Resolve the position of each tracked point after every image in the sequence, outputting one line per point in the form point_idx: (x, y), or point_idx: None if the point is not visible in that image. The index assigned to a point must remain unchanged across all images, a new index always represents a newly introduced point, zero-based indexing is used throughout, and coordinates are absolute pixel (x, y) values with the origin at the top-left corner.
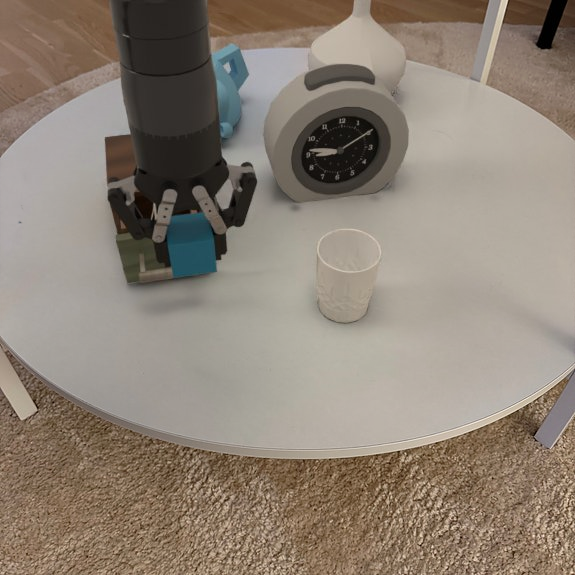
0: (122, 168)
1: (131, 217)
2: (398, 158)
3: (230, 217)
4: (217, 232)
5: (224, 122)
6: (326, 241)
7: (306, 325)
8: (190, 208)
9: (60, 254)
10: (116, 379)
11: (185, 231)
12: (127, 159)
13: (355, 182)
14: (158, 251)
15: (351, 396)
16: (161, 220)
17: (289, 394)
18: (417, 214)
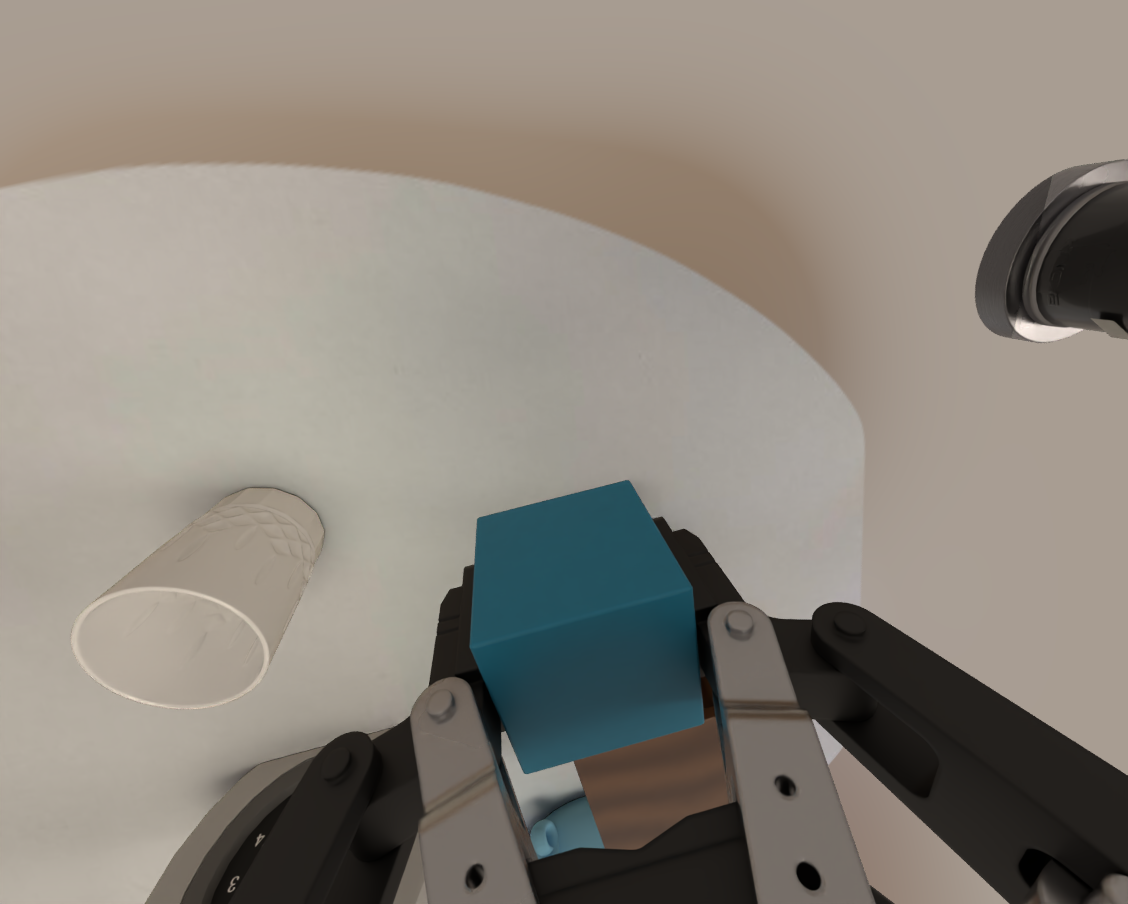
0: (722, 763)
1: (984, 745)
2: (180, 861)
3: (383, 792)
4: (459, 687)
5: (545, 854)
6: (260, 666)
7: (338, 477)
8: (613, 864)
9: (782, 583)
10: (686, 341)
11: (613, 672)
12: (714, 781)
13: (288, 784)
14: (705, 568)
15: (198, 304)
16: (790, 747)
17: (343, 308)
18: (161, 734)
